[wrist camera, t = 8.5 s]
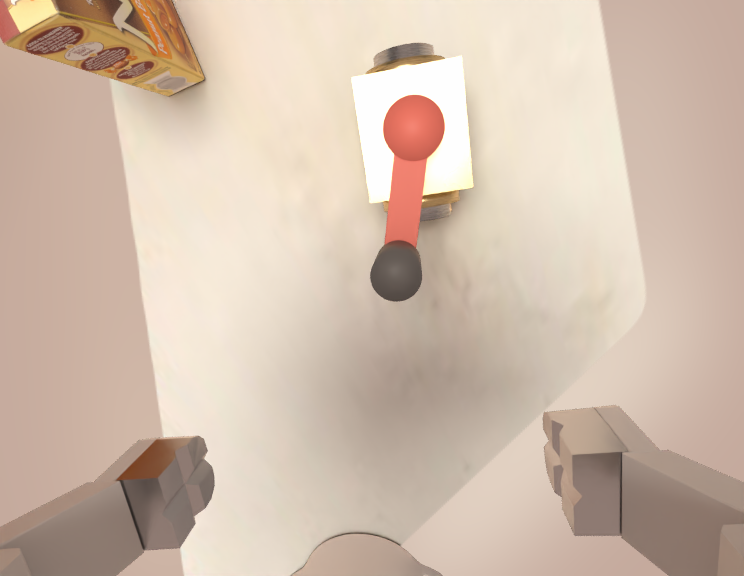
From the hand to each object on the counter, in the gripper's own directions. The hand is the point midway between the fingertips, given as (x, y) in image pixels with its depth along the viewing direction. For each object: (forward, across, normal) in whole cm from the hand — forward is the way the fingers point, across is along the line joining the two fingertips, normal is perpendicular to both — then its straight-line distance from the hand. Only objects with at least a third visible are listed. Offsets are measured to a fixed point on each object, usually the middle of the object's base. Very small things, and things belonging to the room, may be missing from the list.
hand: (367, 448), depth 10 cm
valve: (+29, -2, -9) cm, 31 cm away
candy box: (+29, +18, -21) cm, 40 cm away
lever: (+19, -1, -5) cm, 19 cm away
